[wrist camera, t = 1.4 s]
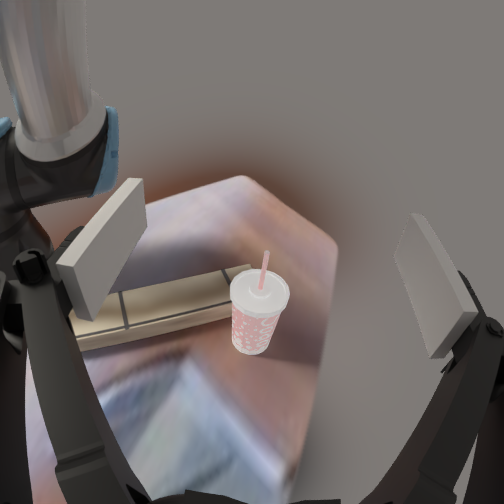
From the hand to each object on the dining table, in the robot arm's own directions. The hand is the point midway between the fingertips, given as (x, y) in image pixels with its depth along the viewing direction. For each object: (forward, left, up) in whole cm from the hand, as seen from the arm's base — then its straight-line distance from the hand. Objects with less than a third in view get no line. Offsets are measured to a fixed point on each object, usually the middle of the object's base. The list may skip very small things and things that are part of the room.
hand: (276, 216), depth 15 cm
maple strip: (-15, -4, -24) cm, 29 cm away
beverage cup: (-8, +5, -24) cm, 26 cm away
